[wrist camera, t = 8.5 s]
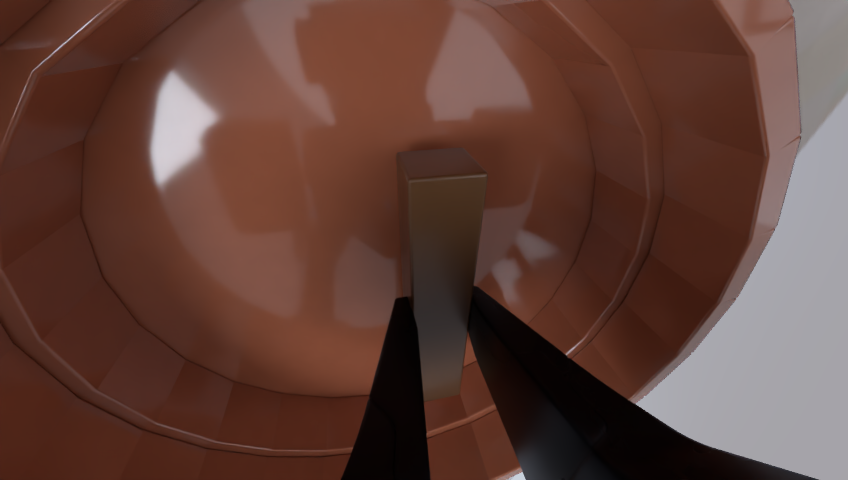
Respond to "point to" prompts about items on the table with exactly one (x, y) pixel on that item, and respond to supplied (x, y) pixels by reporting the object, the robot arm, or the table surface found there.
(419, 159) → the brown long rectangular block
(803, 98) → the table surface
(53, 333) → the bowl
